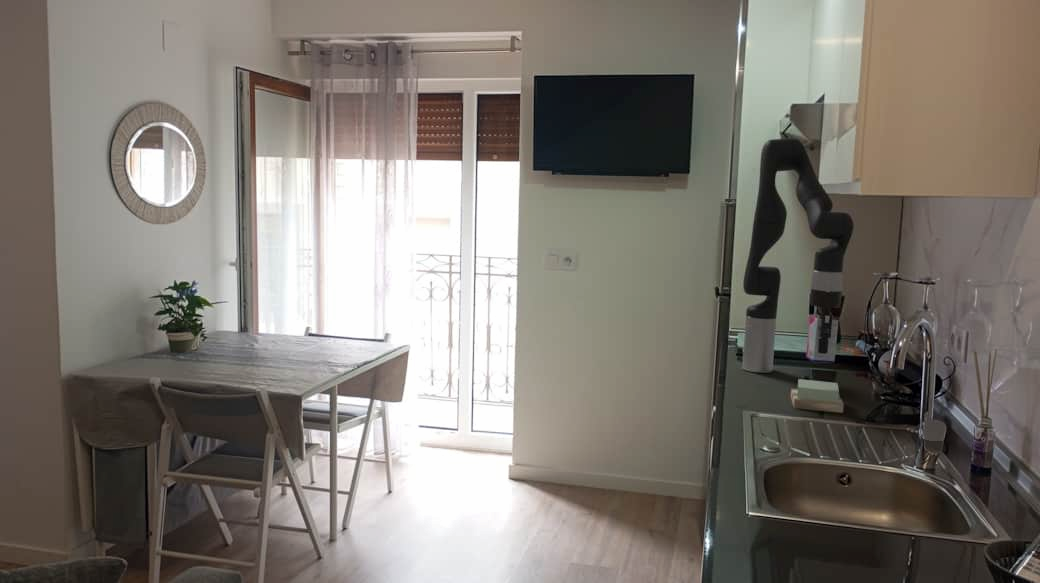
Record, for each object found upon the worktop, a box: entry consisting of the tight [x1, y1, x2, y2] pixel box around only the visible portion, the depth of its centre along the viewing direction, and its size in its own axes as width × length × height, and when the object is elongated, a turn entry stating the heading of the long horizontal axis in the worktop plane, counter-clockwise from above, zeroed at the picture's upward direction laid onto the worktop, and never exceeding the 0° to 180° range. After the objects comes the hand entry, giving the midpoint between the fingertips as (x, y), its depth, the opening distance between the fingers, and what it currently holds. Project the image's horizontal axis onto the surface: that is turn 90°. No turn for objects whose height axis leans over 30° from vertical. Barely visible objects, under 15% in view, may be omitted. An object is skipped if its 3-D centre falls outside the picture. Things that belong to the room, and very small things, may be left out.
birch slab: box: [790, 388, 844, 414], centre depth 209 cm, size 12×12×3 cm
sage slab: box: [797, 378, 840, 403], centre depth 208 cm, size 10×10×3 cm
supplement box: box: [805, 315, 839, 364], centre depth 206 cm, size 6×6×12 cm
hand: (821, 350), depth 207 cm, fingers closed on supplement box, 6 cm apart
